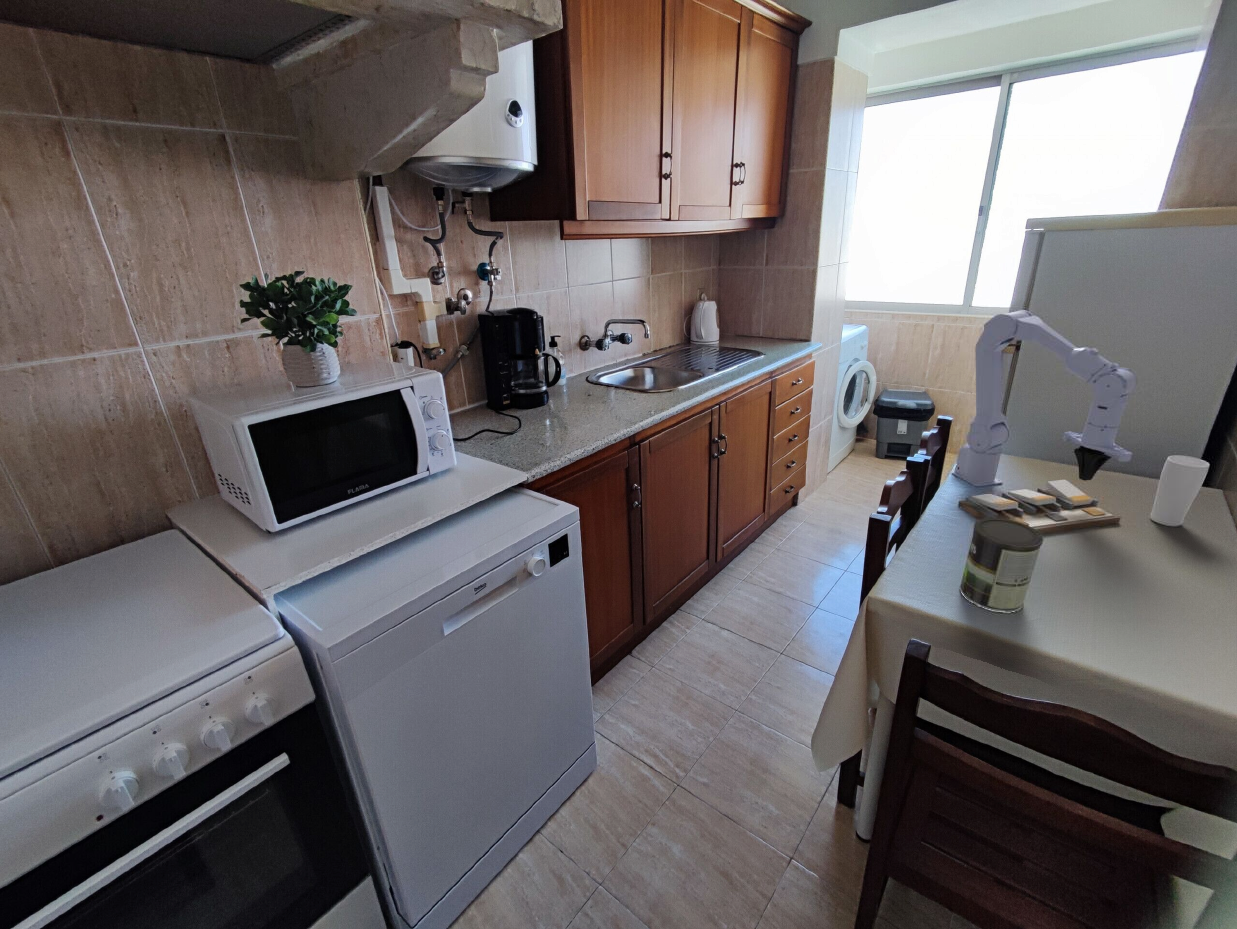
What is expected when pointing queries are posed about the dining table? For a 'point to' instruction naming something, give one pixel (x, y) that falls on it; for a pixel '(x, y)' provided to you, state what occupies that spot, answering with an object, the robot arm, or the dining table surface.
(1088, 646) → the dining table surface
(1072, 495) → the rocker
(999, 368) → the robot arm
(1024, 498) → the rocker middle
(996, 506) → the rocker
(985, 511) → the switch board
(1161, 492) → the drinking glass
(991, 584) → the coffee can
